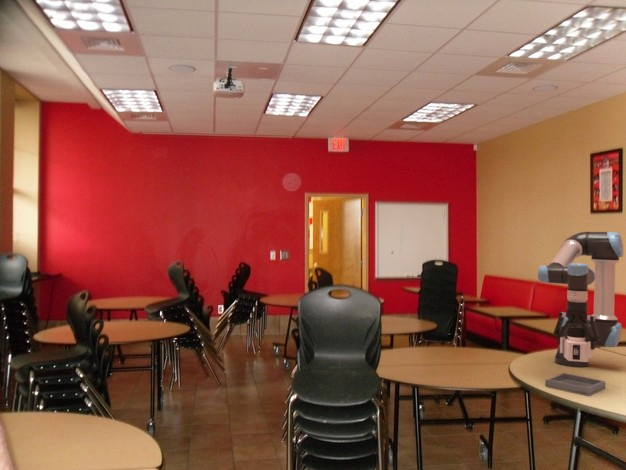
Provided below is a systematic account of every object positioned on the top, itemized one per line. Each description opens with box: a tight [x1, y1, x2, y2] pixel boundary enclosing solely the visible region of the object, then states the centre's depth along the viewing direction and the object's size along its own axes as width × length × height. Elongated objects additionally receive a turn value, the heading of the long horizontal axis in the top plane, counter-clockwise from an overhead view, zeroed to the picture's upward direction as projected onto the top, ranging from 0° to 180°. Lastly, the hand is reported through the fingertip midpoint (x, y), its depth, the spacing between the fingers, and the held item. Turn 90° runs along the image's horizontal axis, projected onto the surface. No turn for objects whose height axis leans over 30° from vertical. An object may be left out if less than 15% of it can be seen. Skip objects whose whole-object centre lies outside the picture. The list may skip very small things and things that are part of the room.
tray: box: [544, 372, 606, 397], centre depth 226 cm, size 17×17×3 cm
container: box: [564, 327, 589, 362], centre depth 226 cm, size 8×8×13 cm
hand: (575, 355), depth 226 cm, fingers closed on container, 10 cm apart
